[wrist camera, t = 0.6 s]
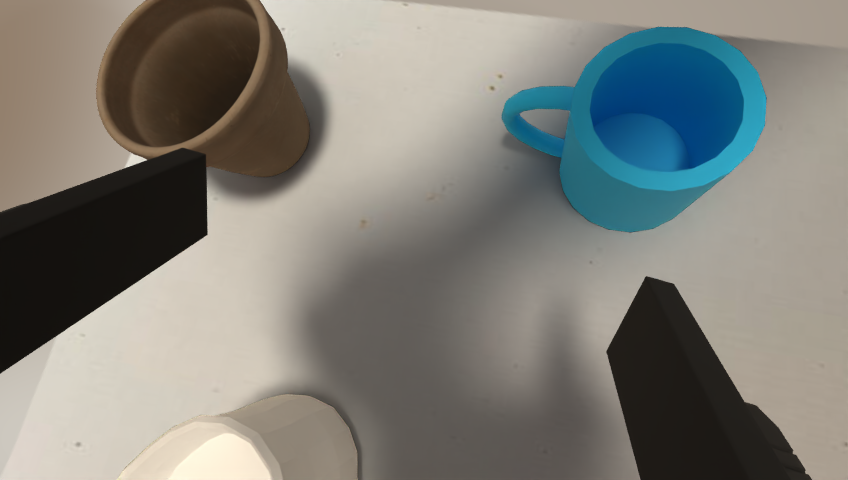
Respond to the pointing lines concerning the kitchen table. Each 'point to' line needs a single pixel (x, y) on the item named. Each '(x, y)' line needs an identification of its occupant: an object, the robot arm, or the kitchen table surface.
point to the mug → (648, 125)
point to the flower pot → (203, 86)
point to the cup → (254, 445)
